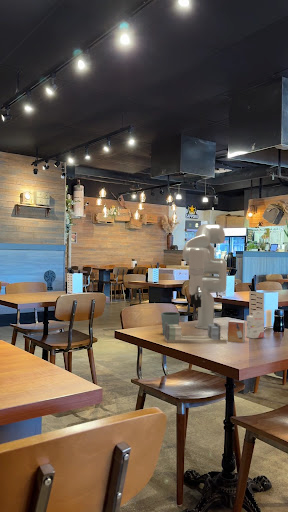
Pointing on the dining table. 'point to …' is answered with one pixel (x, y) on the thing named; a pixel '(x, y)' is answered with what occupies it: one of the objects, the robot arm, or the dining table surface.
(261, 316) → the ink cartridge box
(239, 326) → the small box
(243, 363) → the dining table surface
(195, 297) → the robot arm
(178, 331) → the bookshelf
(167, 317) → the grey green cup
